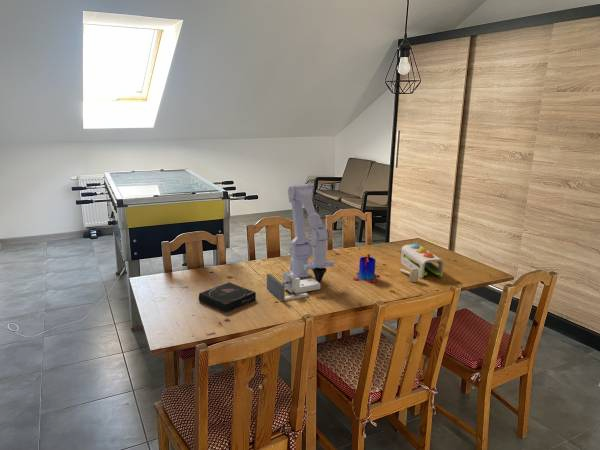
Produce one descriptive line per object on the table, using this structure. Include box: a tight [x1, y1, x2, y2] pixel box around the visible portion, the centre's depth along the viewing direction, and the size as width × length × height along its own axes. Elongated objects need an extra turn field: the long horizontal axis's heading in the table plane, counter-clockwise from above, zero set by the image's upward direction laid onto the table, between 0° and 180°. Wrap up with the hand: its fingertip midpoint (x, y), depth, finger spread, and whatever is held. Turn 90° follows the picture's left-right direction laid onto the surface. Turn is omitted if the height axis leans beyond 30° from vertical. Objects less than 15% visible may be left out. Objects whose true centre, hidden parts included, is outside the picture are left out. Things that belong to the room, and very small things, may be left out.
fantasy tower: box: [352, 253, 381, 284], centre depth 220 cm, size 12×12×12 cm
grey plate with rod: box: [266, 273, 309, 302], centre depth 201 cm, size 15×13×7 cm
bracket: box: [290, 273, 321, 294], centre depth 204 cm, size 13×7×8 cm, turn 118°
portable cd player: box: [198, 281, 257, 314], centre depth 192 cm, size 16×17×4 cm
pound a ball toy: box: [399, 243, 445, 283], centre depth 230 cm, size 28×18×12 cm, turn 12°
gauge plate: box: [282, 271, 297, 295], centre depth 199 cm, size 12×3×7 cm, turn 28°
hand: (318, 282), depth 209 cm, fingers closed
